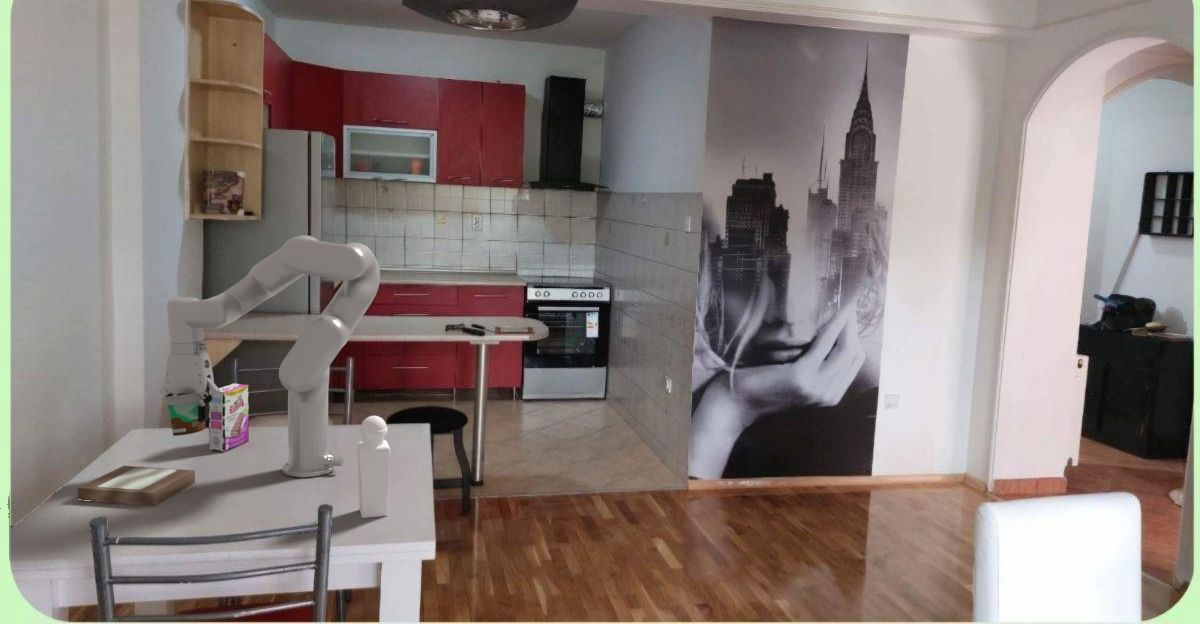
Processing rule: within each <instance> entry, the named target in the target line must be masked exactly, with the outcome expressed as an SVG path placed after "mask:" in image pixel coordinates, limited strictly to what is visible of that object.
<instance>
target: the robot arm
mask: <svg viewBox="0 0 1200 624" xmlns="http://www.w3.org/2000/svg"><path fill="white" fill-rule="evenodd" d="M380 270H381V269H380V265H379V262H378V260H377V257H376V256H375V254H374V253H373V250H371V249H370V247H368V246H367V245H366V244H363V243H361V242H357V241H356V242H354V241H353V242H348V243H345V244H343V243H336V242H330V241H329V242H328V241H322V240H318V239H317V238H315V237H313V236H312V235H307V234H305V235H303V234H302V235H298V236H293V237H292V238H290V239H288V240H286V242H284V243H283V245H282V247H280V248H279V249H277V250H276V251H275V252H273V253H271V254H270V255H268V256H267V257H265V258H264V259H263V260H261V261H259V262H258V263H256V264H255V265H253V266H252V268H251V269H250V270H249V272H248V273H247V274H246V275H245V276H244V277H243V278H242V279H241V280H239V281H238V282H237V283H235V284H233V285H232V286H230V287H228V289H226V290H224V291H223V292H221V293H220V294H218V295H215V296H212V297H209V298H206V299H199V298H197V297H187V296H185V297H175V298H171V299H169V300H168V302H167V304H166V309H167V310H166V311H167V323H168V325H167V328H168V340H169V352H170V353H168V354H167V362H166V368H165V369H166V372H165V379H166V382H165V383H164V384H163V385H162V387H161V389H160V390H159V391H160V393H161V394H162V395H163V396H164V397H166V399H167V396H177V395H178V394H184V395H186V394H191V393H196V394H197V395H199V396H200V399H201V400H199V403H200V406H198V417H199V422H203V421H205V422H206V421H207V420H208V421H209V403H210V402H211V401H212V400H213V398H214V397H215V396H216V395H218V394H219V393H220V390H219V388H220V387H218V386H217V385H216V383H215V380H214V372H213V365H212V362H211V359H210V356H209V353H208V352H206V350H208V349H209V344H208V343H205V340H204V338H205V337H204V329H208V330H217V329H220V328H223V327H226V326H227V325H229V324H231V323H233V322H235V321H237V320H239V319H240V318H241V317H243V316H244V315H246V314H247V313H249V312H250V311H252V310H253V309H255V308H256V307H258V306H259V305H260V304H262V303H264V302H265V301H267V300H269V299H270V298H273V297H274V296H275V295H277V294H278V293H280V292H282V291H283V290H284V289H286V288H287V287H289V286H290V285H292V284H294V283H295V282H296V281H297V280H299V279H300V278H302V277H304V276H313V277H320V278H327V279H335V280H341V281H343V282H342V283H341V285H340V286H339V288H338V290H337V291H336V292H335V293H334V296H333V297H332V299H331V300H330V301H329V303H328V304H327V306H326V307H325V308H324V310H323V311H322V312H321V314H319V315H317V316H316V317H315V318H314V319H312V320H311V321H310V322H309V323H308V324H307V326H306V327H305V328H304V330H303V331H302V332H301V334H300V335H299V336H298V338H297V340H296V341H295V343H294V344H293V345H292V347H291V348H290V349H289V351H288V352H287V354H286V356H285V357H284V358H283V360H282V361H281V363H280V366H279V369H278V376H279V377H278V378H279V380H280V383H281V384H282V386H283V387H284V388H285V389H286V390H287V391H288V393H287V394H288V395H287V419H288V420H287V422H288V423H287V424H288V425H287V429H288V431H287V433H288V435H287V436H288V462H285V463H284V464H283V465H282V468H281V469H282V473H283V474H284V475H285V476H288V477H295V478H313V477H319V476H324V475H327V474H329V473H331V472H332V471H334V470H335V468H336V467H343V466H344V464H345V463H344V462H345V461H344V458H343V456H337V455H336V456H335V455H333V450H331V449H329V386H330V385H329V384H330V373H331V372H330V371H331V370H330V369H331V368H330V366H331V364H332V363H333V361H334V360H335V358H336V357H337V355H338V354H339V353H340V351H341V350H342V348H343V347H345V345H346V344H347V342H348V341H349V340H350V337H351V335H352V334H353V332H354V330H355V329H356V327H357V326H358V324H359V323H360V321H361V320H362V318H363V317H364V315H365V314H366V312H367V310H368V309H369V307H370V306H371V305H372V302H373V301H374V298H375V297H376V296H377V292H378V291H379V287H380V283H381V271H380ZM209 391H211V393H210V394H209ZM204 394H205V397H206V398H205V399H204V398H203V395H204Z"/></svg>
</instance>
